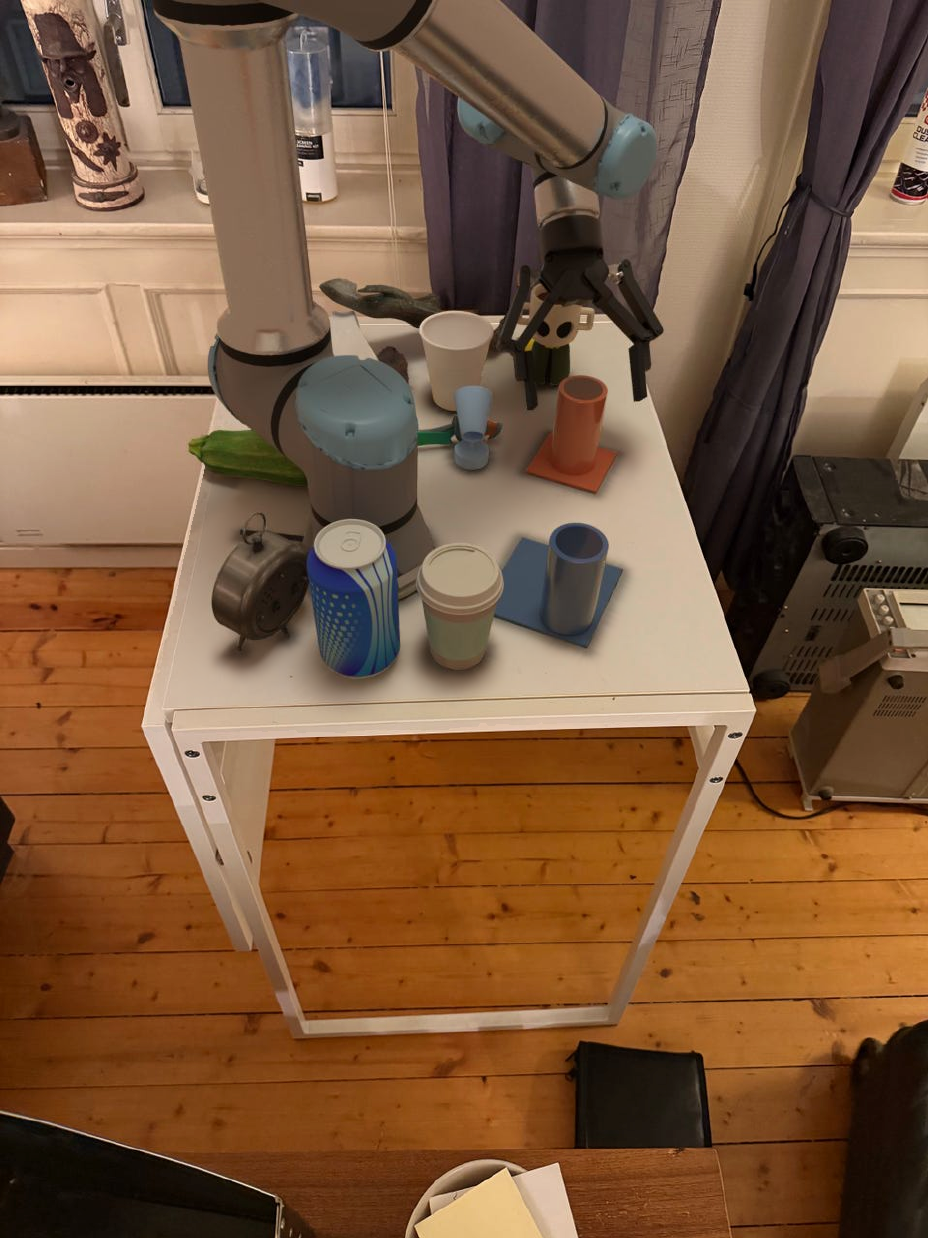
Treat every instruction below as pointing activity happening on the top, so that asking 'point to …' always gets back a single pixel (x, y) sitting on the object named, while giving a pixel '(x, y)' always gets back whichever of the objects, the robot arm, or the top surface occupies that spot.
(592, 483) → the terracotta mat
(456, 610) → the coffee cup
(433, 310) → the statue
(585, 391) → the terracotta tumbler
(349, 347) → the spoon rest
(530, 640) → the top surface
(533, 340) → the light bulb
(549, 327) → the character mug
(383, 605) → the beer can
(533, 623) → the blue mat
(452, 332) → the cup
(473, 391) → the spotlight
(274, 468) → the vegetable
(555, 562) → the blue tumbler
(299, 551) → the alarm clock
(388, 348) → the stone
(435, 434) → the knife
